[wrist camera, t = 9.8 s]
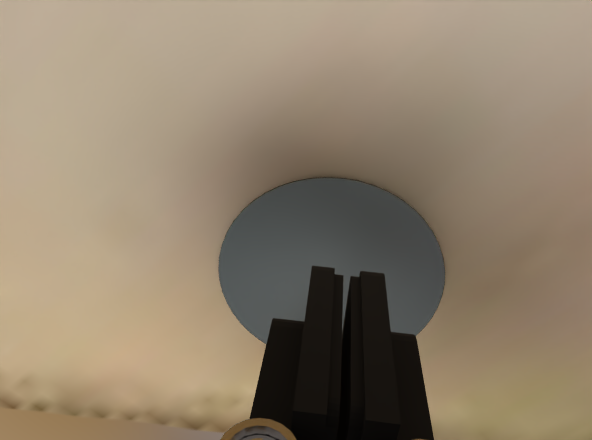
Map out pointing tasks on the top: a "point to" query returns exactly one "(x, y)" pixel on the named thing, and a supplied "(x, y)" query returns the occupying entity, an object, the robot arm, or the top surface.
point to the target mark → (328, 252)
